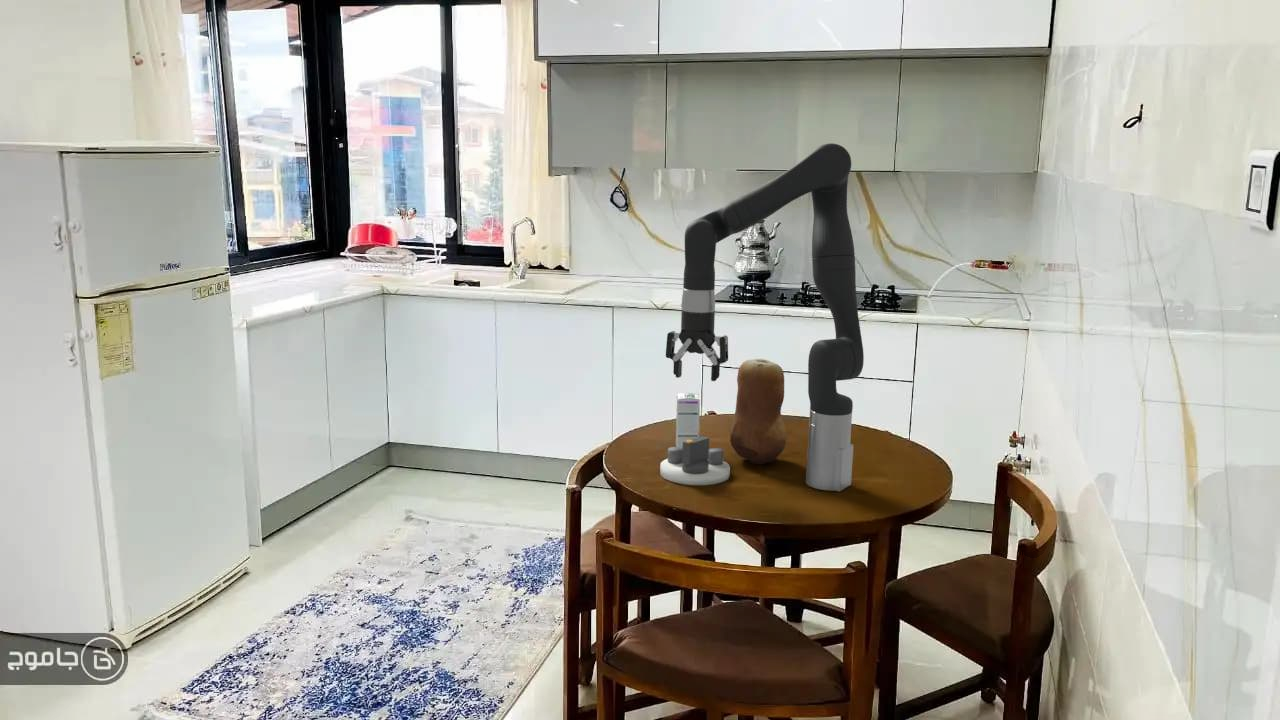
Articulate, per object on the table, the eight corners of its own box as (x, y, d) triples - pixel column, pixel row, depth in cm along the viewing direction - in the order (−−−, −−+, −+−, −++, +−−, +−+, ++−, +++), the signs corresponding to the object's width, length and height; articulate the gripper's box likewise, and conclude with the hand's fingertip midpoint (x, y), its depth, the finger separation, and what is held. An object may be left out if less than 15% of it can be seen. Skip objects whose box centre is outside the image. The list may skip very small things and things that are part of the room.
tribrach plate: (742, 472, 221) (743, 452, 220) (705, 490, 208) (705, 468, 207) (685, 459, 230) (686, 439, 229) (646, 475, 217) (646, 454, 216)
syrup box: (699, 456, 233) (701, 398, 230) (675, 455, 233) (676, 398, 230) (698, 449, 238) (700, 393, 236) (674, 448, 239) (676, 392, 236)
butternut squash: (791, 457, 233) (797, 358, 228) (776, 473, 221) (781, 368, 216) (738, 449, 239) (742, 352, 234) (720, 464, 227) (723, 362, 222)
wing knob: (694, 463, 220) (695, 433, 218) (715, 469, 216) (716, 438, 214) (675, 470, 215) (676, 439, 213) (695, 476, 211) (696, 444, 209)
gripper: (733, 308, 214) (730, 378, 218) (674, 304, 220) (672, 372, 223) (723, 313, 208) (721, 385, 211) (662, 308, 213) (661, 379, 216)
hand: (696, 378), depth 217 cm, fingers open, 8 cm apart
